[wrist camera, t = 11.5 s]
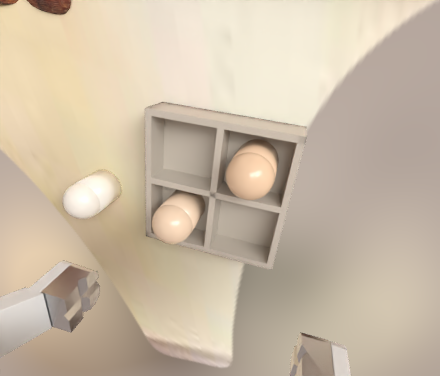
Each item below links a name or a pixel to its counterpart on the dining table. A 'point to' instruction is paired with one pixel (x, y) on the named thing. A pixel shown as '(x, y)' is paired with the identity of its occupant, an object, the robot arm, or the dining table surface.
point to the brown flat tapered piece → (46, 5)
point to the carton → (219, 177)
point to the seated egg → (178, 216)
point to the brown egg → (252, 170)
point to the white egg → (91, 194)
